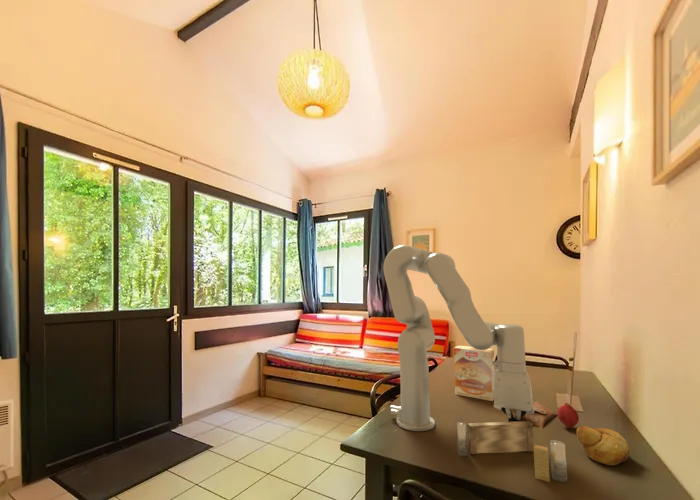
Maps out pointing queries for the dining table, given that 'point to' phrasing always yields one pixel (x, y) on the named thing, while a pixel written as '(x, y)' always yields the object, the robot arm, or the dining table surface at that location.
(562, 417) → the red round fruit
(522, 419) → the sunglasses case
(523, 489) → the dining table surface
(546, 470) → the slab and cylinder
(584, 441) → the bread roll
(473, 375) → the coffeecake box
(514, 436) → the strip
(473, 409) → the dining table surface
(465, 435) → the hinge post
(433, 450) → the dining table surface
